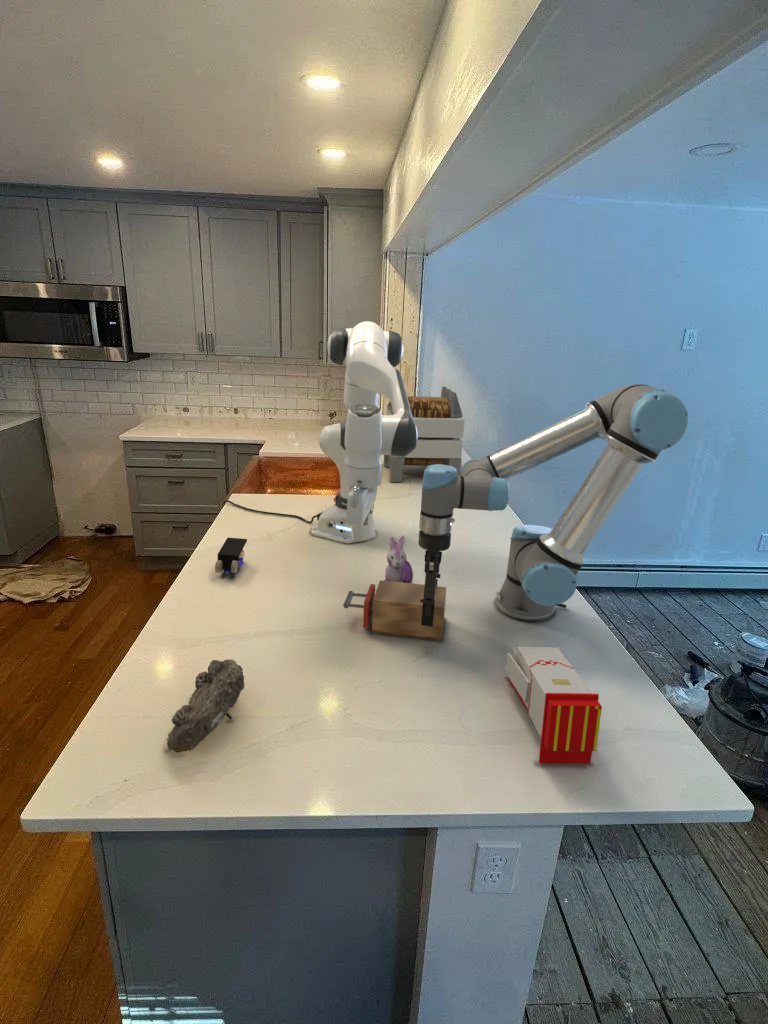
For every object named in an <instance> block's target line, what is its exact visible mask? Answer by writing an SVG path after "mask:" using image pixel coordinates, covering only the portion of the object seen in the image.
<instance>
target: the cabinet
mask: <svg viewBox="0 0 768 1024" xmlns="http://www.w3.org/2000/svg"><path fill="white" fill-rule="evenodd" d="M424 587H425V584H419V583H412V584H411V583H402V582H392V581H385V580H383V579H380V580H379V582H378V585H377V588H376V590H375V596H374V599H373V614H372V617H371V621H372V622H371V633H372V634H378V635H384V636H394V637H401V638H402V637H403V638H412V639H420V640H428V641H429V640H430V641H436V642H437V641H438V642H442V641H443V634H444V633H443V632H444V623H445V612H446V602H447V601H446V600H447V589H448V587H447V586H439V585H437V586H435V597H434V600H435V605H434V617H433V627H432V626H424V625H421V622H422V609H423V602H420V599H423V598H424Z"/></svg>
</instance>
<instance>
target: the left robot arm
mask: <svg viewBox="0 0 768 1024" xmlns="http://www.w3.org/2000/svg"><path fill="white" fill-rule="evenodd" d="M326 345H327V346H326V347H327V353H328V356H329V359H330V360H331V362H332V363H334V364H335V365H339V366H345V375H344V386H343V387H344V389H343V404H344V405H343V406H344V407H345V408H346V410H347V414H346V418H344V419H343V420H342V422H338V423H334V424H329V425H325V426H324V427H323V428H322V429H321V431H320V434H319V437H318V442H319V443H318V444H319V447H320V449H321V451H322V452H323V454H325V455H326V456H327V457H328V458H330V459H331V460H332V462H333V463H334V464H335V465H336V467H337V470H338V473H339V483H340V484H339V485H340V488H339V489H340V490H339V491H338V492H337V494H336V495H335V496H334V497H333V502H334V504H333V505H331V506H329V507H328V508H326V509H325V510H323V511H322V512H321V511H320V512H319V513H317V514H315V515H313V516H312V517H311V519H310V521H309V520H306V519H305V518H303V517H302V516H299V515H296V514H286V513H279V512H271V511H265V510H264V511H263V510H257V509H253V508H249V507H245V506H243V505H240V504H237V503H234V502H232V501H230V500H228V499H226V500H224V501H223V502H222V504H225V503H230V504H231V505H232V506H234V507H237V508H240V509H242V510H246V511H249V512H254V513H258V514H259V513H260V514H265V515H273V516H282V517H292V518H297V519H300V520H302V521H303V522H305V523H307V524H312V523H313V522H314V520H315V518H316V520H317V523H315V524H314V525H313V526H312V528H311V530H310V533H311V536H315V537H319V538H323V539H326V540H330V541H336V542H339V543H343V544H352V543H357V542H365V541H368V540H372V539H373V538H375V537H376V535H377V532H376V528H375V523H374V513H373V512H374V509H375V502H376V498H377V494H378V493H377V492H378V487H379V486H381V485H382V479H383V478H382V477H383V460H382V455H383V456H384V455H392V456H399V457H405V456H407V455H408V454H410V453H411V452H412V451H413V450H414V449H415V448H416V444H417V440H418V432H417V427H416V425H415V421H414V418H413V416H412V413H411V410H410V406H409V402H408V398H407V396H408V395H407V394H408V393H407V390H406V386H405V382H404V380H403V377H402V374H401V372H400V370H398V369H397V368H396V367H398V365H400V364H401V360H402V359H403V356H404V352H405V347H404V342H403V337H402V336H401V334H400V333H398V332H396V331H394V330H393V331H392V330H384V329H382V327H381V326H380V325H379V324H377V323H376V322H374V321H369V320H367V321H366V320H365V321H361V322H359V323H357V324H356V325H355V326H353V327H349V328H348V327H347V328H346V327H337V328H334V329H333V330H331V333H330V335H329V337H328V339H327V344H326ZM406 393H407V394H406ZM380 395H381V396H383V397H385V398H386V399H388V400H389V401H390V402H391V405H392V409H393V414H394V415H386V414H382V413H383V412H382V410H381V409H380Z"/></svg>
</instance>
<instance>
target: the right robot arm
mask: <svg viewBox="0 0 768 1024" xmlns="http://www.w3.org/2000/svg"><path fill="white" fill-rule="evenodd" d="M688 426H689V414H688V409H687V407H686V405H685V403H684V402H683V400H681V399H680V398H679V397H678V396H676V395H675V394H673V393H672V392H670V391H668V390H667V391H666V390H665V389H660V388H656V387H653V386H650V385H648V384H644V383H633V384H628V385H625V386H622V387H619V388H616V389H615V390H612V391H610V392H608V393H607V394H606V393H605V394H604V395H602V396H600V397H597V398H595V399H593V400H591V401H589V402H587V403H586V404H585V407H584V409H583V410H581V411H578V412H577V413H575V414H572V415H570V416H568V417H565V418H564V419H562V420H559V421H558V422H556V423H553V424H551V425H549V426H547V427H545V428H543V429H541V430H538V431H537V432H535V433H532V434H530V435H529V436H527V437H524V438H522V439H520V440H518V441H516V442H514V443H512V444H510V445H507V446H505V447H503V448H501V449H498V450H497V451H495V452H493V453H490V454H489V455H487V456H483V457H481V458H480V459H479V458H469V459H467V460H466V461H465V462H464V463H462V464H461V469H460V476H457V470H456V469H455V468H454V467H452V466H449V465H443V464H435V465H430V466H429V465H428V466H426V467H425V469H424V471H423V476H422V484H421V498H420V499H421V502H420V503H421V504H420V511H419V526H418V527H419V532H418V545H419V547H420V548H421V549H423V550H425V554H424V560H423V561H424V562H425V563H424V573H425V576H424V577H425V579H424V585H425V587H424V598H423V599H420V602H423V609H422V622H421V625H424V626H432V627H433V617H434V605H435V600H434V597H435V586H438V580H439V579H441V573H440V565H441V563H442V558H443V552H444V551H447V550H448V549H449V548H450V547H451V543H452V528H453V527H452V526H453V524H455V523H456V519H455V518H453V517H454V510H455V509H458V510H475V511H488V512H492V511H494V512H495V511H504V510H505V509H506V508H507V507H508V503H509V497H510V485H509V481H508V480H511V479H513V478H514V477H517V476H519V475H521V474H523V473H526V472H528V471H529V470H531V469H532V470H533V468H536V467H537V466H540V465H542V464H545V463H546V462H549V461H551V460H554V459H556V458H557V457H560V456H562V455H565V454H567V453H569V452H571V451H573V450H575V449H577V448H579V447H581V446H584V445H586V444H588V443H590V442H592V441H595V440H597V439H600V440H602V441H603V440H606V446H605V448H604V450H602V453H601V454H600V456H599V457H598V459H597V460H596V462H595V463H594V465H593V466H592V468H591V469H590V470H589V472H588V474H587V476H586V477H585V478H584V480H583V482H582V483H581V484H580V486H579V488H578V489H577V491H576V492H575V494H574V495H573V497H572V499H570V501H569V503H568V505H567V506H566V507H565V509H564V510H563V513H562V514H561V516H560V517H559V519H558V520H557V522H556V523H555V525H554V526H553V528H551V527H548V526H544V525H535V524H522V525H517V526H515V527H514V528H513V529H512V531H511V532H512V533H511V536H510V545H509V552H508V553H509V554H508V562H507V568H506V576H505V580H504V582H503V584H502V585H501V587H500V590H499V591H498V590H496V595H495V596H496V601H495V604H496V607H497V609H498V610H499V611H500V612H502V613H503V614H505V615H506V616H508V617H510V618H513V619H516V620H520V621H526V622H540V621H541V622H542V621H546V620H548V619H550V618H551V617H552V616H553V615H554V613H555V607H559V608H563V609H566V608H567V605H566V604H564V603H566V602H567V601H568V600H570V599H571V598H572V597H573V596H574V595H575V592H576V589H577V577H576V576H577V574H578V573H579V572H580V570H581V569H582V567H583V565H584V564H585V559H584V556H583V553H584V552H585V550H586V549H587V548H588V546H589V544H590V543H591V541H592V540H593V538H594V537H595V535H596V534H597V533H598V531H599V530H600V528H601V526H602V525H603V524H604V522H605V521H606V519H607V518H608V517H609V515H610V513H611V512H612V511H613V510H614V508H615V506H616V505H617V503H618V502H619V500H620V499H621V497H622V496H623V495H624V493H625V492H626V490H627V489H628V487H629V486H630V485H631V483H632V481H633V480H634V478H635V477H636V475H637V474H638V473H639V471H640V469H641V468H642V467H643V466H644V465H645V464H649V463H653V462H655V461H656V459H657V458H658V456H659V455H660V454H661V453H662V451H665V450H667V449H669V448H672V447H673V446H675V445H676V444H678V443H679V442H680V441H681V440H682V439H683V437H684V436H685V434H686V431H687V430H688Z"/></svg>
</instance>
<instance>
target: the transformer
mask: <svg viewBox="0 0 768 1024" xmlns="http://www.w3.org/2000/svg"><path fill="white" fill-rule="evenodd" d="M440 393H441V394H440V396H415V395H414V396H413V395H412V396H411V395H407V398H408V402H409V406H410V410H411V413H412V416H413V418H414V421H415V425H416V427H417V432H418V440H417V444H416V448H415V449H414V450H413V451H412V452H411V453H410V454H408V455H407V456H405V457H399V456H392V455H383V462H382V465H383V466H384V467H388V468H389V475H388V476H389V477H388V478H389V480H390V482H391V483H402V482H403V475H404V469H405V466H406V467H407V466H411V467H412V466H413V467H415V466H416V467H417V466H418V467H428V466H430V465H435V464H443V465H449V466H452V467H454V468H455V469H456V470H457V476H460V469H461V467H462V461H463V460H462V453H463V442H464V441H463V440H462V439H463V438H464V431H465V430H464V429H465V419H464V418H463V411H462V408H461V405H460V402H459V398H458V395H457V392H455V391H453V390H452V389H451V388H447V386H442V387H441V392H440ZM406 394H408V393H407V392H406ZM385 415H394V414H393V409H392V405H391V402H390V400H389V402H388V404H387V405H386V413H385Z"/></svg>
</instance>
